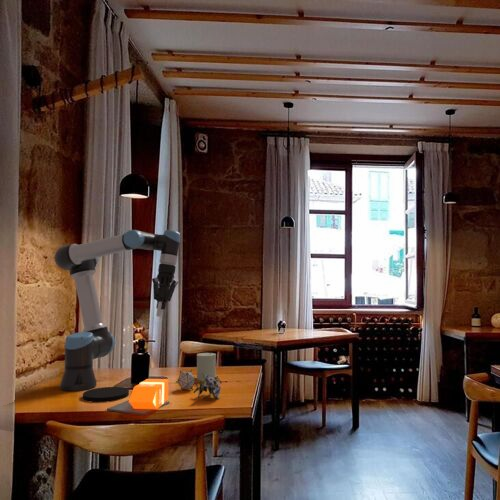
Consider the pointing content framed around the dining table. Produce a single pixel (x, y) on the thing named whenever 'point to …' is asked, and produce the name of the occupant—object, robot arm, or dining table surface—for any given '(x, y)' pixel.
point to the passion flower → (209, 386)
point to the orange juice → (149, 394)
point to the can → (206, 365)
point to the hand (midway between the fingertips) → (159, 316)
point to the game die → (186, 380)
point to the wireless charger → (105, 394)
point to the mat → (128, 408)
